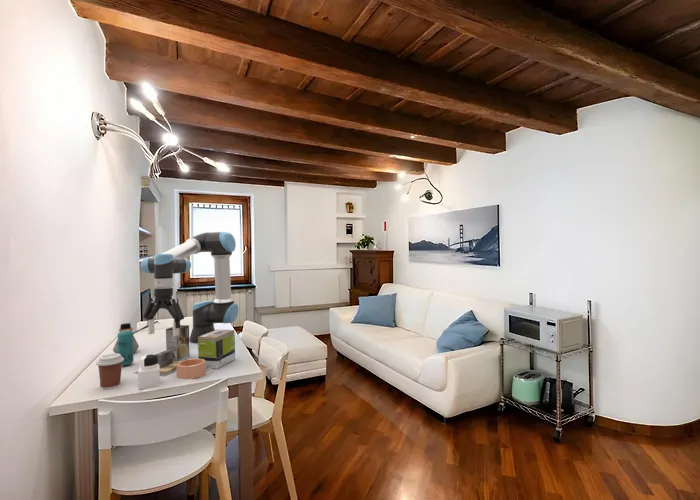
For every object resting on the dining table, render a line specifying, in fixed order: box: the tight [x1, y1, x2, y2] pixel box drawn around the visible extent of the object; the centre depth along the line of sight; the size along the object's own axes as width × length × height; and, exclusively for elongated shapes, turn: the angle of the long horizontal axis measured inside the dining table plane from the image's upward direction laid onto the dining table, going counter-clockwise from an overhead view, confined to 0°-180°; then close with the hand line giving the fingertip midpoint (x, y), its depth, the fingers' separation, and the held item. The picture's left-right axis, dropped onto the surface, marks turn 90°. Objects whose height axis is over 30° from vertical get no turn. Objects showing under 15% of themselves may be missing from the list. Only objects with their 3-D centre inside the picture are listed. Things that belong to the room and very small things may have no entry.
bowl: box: [176, 357, 207, 380], centre depth 149 cm, size 11×11×6 cm
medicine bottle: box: [137, 353, 161, 391], centre depth 137 cm, size 7×7×12 cm
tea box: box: [197, 329, 236, 370], centre depth 164 cm, size 15×10×15 cm, turn 165°
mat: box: [133, 369, 177, 378], centre depth 156 cm, size 17×17×1 cm
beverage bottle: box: [117, 322, 134, 366], centre depth 161 cm, size 6×7×20 cm
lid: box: [154, 350, 180, 374], centre depth 156 cm, size 13×13×7 cm
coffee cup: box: [95, 352, 124, 390], centre depth 138 cm, size 9×9×12 cm
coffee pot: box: [112, 320, 160, 354], centre depth 185 cm, size 21×12×15 cm, turn 130°
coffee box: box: [165, 324, 190, 362], centre depth 171 cm, size 9×6×16 cm
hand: (163, 334), depth 156 cm, fingers open, 13 cm apart
